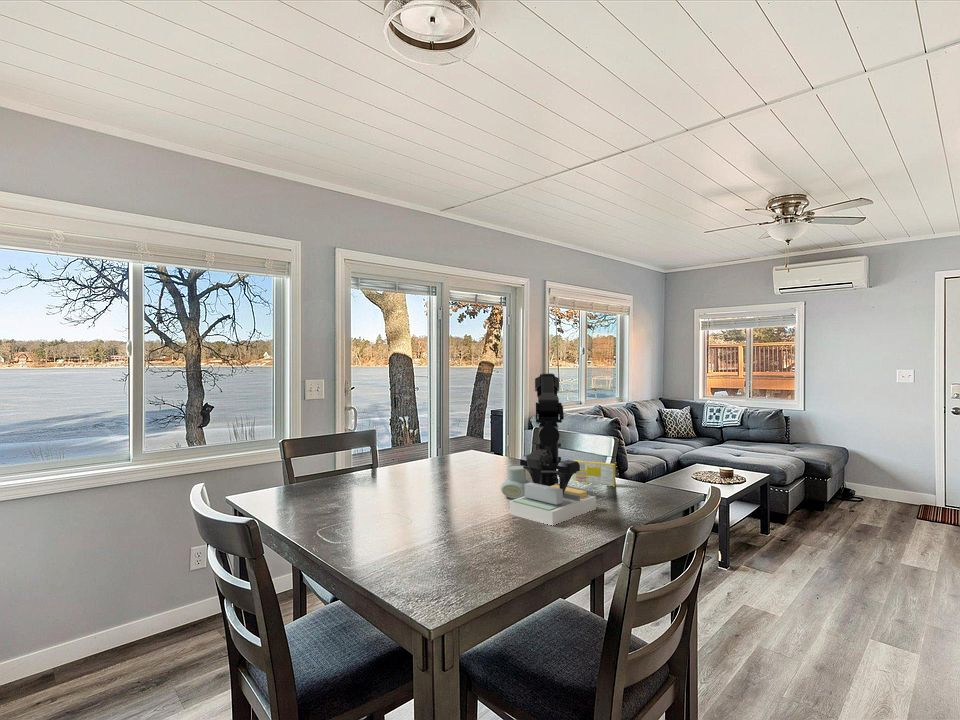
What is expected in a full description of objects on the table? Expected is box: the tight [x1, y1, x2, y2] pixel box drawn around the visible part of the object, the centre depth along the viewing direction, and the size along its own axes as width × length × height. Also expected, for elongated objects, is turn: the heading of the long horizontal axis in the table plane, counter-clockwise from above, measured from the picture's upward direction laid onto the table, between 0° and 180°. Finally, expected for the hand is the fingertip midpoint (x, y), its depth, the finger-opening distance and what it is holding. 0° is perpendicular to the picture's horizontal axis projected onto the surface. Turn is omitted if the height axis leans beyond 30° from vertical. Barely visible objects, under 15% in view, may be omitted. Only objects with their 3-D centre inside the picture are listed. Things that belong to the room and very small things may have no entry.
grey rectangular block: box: [524, 481, 563, 505], centre depth 152 cm, size 12×3×4 cm, turn 45°
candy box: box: [571, 459, 616, 488], centre depth 189 cm, size 16×2×8 cm, turn 58°
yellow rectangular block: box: [551, 485, 587, 498], centre depth 160 cm, size 12×4×2 cm, turn 45°
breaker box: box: [509, 483, 597, 527], centre depth 155 cm, size 16×22×6 cm
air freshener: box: [500, 465, 531, 500], centre depth 172 cm, size 11×8×10 cm
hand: (549, 492), depth 154 cm, fingers open, 9 cm apart
